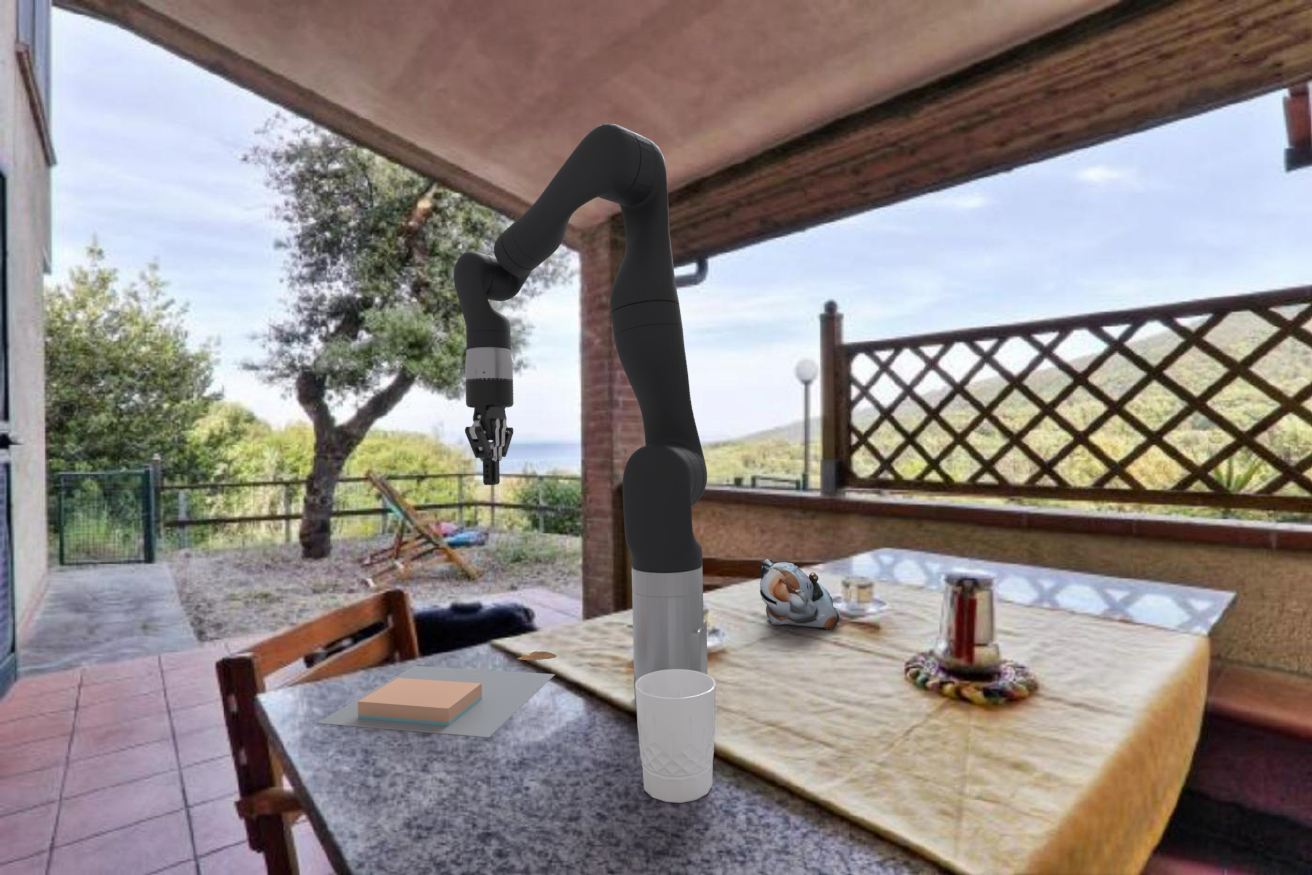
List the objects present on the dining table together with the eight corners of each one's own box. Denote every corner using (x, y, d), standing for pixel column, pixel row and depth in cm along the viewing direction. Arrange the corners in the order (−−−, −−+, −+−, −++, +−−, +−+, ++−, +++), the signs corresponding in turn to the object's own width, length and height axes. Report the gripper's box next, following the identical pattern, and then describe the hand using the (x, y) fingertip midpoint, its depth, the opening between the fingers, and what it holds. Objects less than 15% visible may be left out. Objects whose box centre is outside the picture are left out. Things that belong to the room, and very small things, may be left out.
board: (555, 682, 93) (554, 674, 93) (489, 747, 74) (488, 737, 74) (414, 673, 98) (414, 665, 98) (317, 732, 79) (317, 722, 79)
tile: (481, 683, 85) (448, 708, 77) (482, 698, 85) (448, 725, 77) (398, 677, 88) (357, 701, 80) (398, 692, 88) (358, 718, 80)
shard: (599, 669, 100) (599, 657, 100) (565, 685, 94) (564, 673, 94) (546, 657, 106) (545, 646, 106) (510, 672, 100) (510, 660, 100)
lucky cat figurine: (854, 628, 116) (834, 564, 111) (794, 660, 115) (770, 596, 110) (813, 586, 130) (794, 528, 125) (759, 614, 128) (737, 556, 123)
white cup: (635, 767, 69) (633, 670, 69) (710, 763, 69) (708, 666, 69) (639, 810, 61) (637, 700, 61) (725, 804, 62) (722, 695, 62)
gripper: (492, 373, 101) (494, 487, 101) (527, 380, 114) (529, 481, 114) (447, 375, 103) (449, 487, 103) (487, 382, 116) (489, 482, 116)
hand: (491, 484), depth 108 cm, fingers closed
